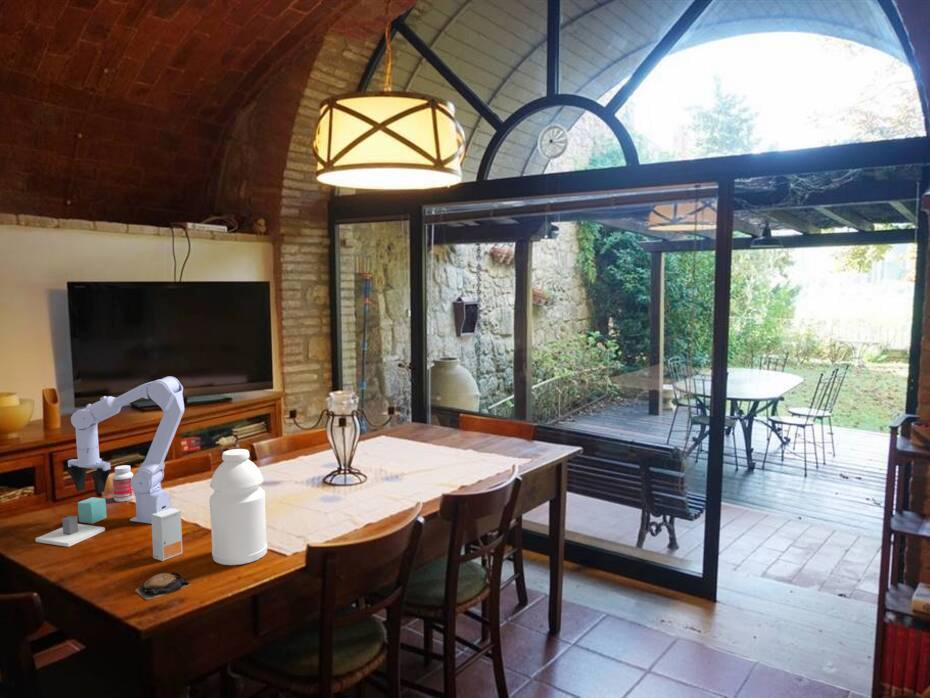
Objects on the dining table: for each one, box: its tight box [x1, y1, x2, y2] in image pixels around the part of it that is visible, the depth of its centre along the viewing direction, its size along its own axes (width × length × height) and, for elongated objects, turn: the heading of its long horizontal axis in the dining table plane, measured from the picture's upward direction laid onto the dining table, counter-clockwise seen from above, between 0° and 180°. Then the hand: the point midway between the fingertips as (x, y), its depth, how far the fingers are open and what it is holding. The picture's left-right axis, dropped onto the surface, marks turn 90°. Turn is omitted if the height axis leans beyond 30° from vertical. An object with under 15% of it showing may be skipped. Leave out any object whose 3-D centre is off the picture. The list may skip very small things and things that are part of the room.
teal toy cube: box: [77, 496, 107, 524], centre depth 198 cm, size 5×5×6 cm
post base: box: [34, 515, 106, 548], centre depth 185 cm, size 12×12×6 cm
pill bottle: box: [112, 464, 135, 503], centre depth 217 cm, size 6×6×11 cm
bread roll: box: [134, 571, 191, 601], centre depth 153 cm, size 11×8×4 cm
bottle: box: [208, 448, 268, 566], centre depth 170 cm, size 14×14×28 cm
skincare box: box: [151, 507, 183, 562], centre depth 171 cm, size 6×4×12 cm
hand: (90, 491), depth 197 cm, fingers open, 7 cm apart
